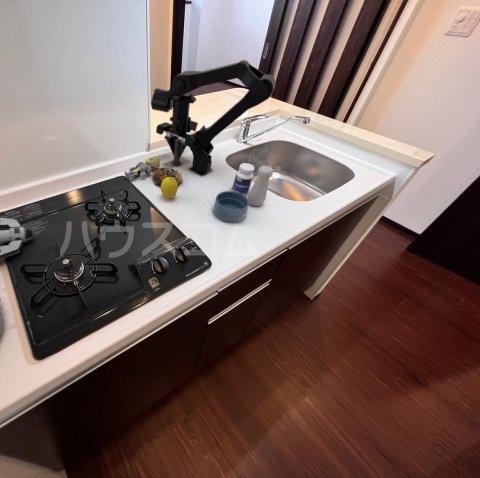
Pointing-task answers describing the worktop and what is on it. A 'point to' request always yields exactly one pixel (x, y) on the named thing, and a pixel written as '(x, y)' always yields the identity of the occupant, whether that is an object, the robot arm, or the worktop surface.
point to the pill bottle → (243, 179)
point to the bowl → (231, 206)
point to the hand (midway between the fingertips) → (177, 156)
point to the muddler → (176, 154)
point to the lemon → (169, 187)
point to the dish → (1, 321)
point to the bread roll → (166, 175)
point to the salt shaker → (260, 186)
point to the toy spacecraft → (12, 237)
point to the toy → (143, 168)
